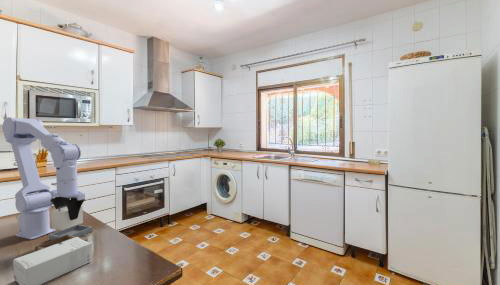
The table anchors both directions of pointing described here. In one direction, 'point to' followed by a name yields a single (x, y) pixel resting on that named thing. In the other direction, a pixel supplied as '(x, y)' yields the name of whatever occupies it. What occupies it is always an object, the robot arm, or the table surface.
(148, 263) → the table surface
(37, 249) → the walnut bay
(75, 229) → the slate drawer housing
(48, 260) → the skincare box
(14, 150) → the robot arm
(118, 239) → the table surface
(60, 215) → the white drawer with handle
